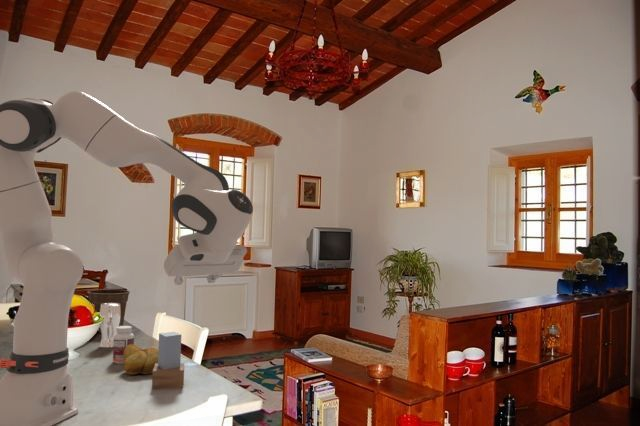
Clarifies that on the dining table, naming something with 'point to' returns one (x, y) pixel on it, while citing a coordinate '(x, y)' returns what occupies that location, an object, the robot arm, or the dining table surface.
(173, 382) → the walnut block
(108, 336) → the beer glass
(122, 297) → the plant pot
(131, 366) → the bread roll
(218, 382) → the dining table surface
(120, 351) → the pill bottle
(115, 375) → the dining table surface
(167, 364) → the slate block
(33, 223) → the robot arm
